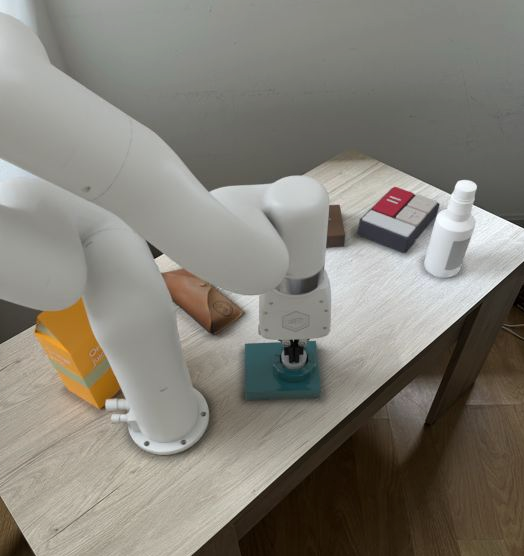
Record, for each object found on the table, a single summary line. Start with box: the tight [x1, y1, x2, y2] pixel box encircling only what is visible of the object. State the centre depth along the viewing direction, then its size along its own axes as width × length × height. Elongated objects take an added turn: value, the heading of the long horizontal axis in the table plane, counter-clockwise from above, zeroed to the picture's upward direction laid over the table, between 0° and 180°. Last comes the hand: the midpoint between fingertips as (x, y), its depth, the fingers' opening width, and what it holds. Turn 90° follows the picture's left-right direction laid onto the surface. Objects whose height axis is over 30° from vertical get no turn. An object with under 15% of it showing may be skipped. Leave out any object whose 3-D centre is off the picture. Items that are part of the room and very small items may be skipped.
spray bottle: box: [423, 179, 478, 279], centre depth 93 cm, size 7×7×18 cm
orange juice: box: [33, 296, 122, 410], centre depth 79 cm, size 8×9×20 cm
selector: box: [326, 204, 346, 248], centre depth 107 cm, size 14×10×3 cm
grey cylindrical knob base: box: [244, 340, 322, 401], centre depth 85 cm, size 12×10×4 cm
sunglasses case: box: [161, 268, 244, 336], centre depth 96 cm, size 18×7×7 cm
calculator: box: [357, 186, 441, 254], centre depth 107 cm, size 11×4×15 cm
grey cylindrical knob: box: [281, 350, 307, 370], centre depth 83 cm, size 4×4×2 cm
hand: (293, 355), depth 82 cm, fingers closed
